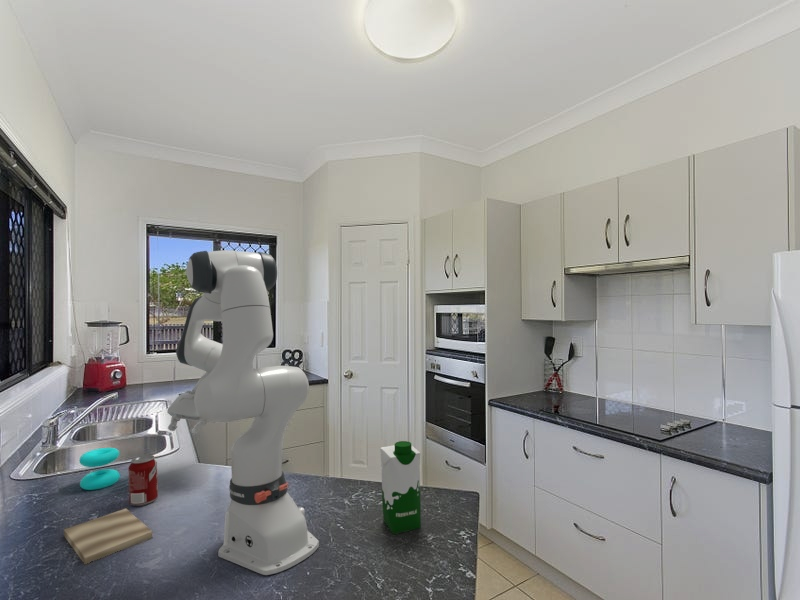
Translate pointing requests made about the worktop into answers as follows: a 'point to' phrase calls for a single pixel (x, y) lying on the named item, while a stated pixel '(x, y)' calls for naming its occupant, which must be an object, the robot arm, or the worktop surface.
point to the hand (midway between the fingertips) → (181, 431)
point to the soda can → (143, 480)
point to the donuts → (101, 476)
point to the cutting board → (106, 535)
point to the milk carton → (401, 487)
